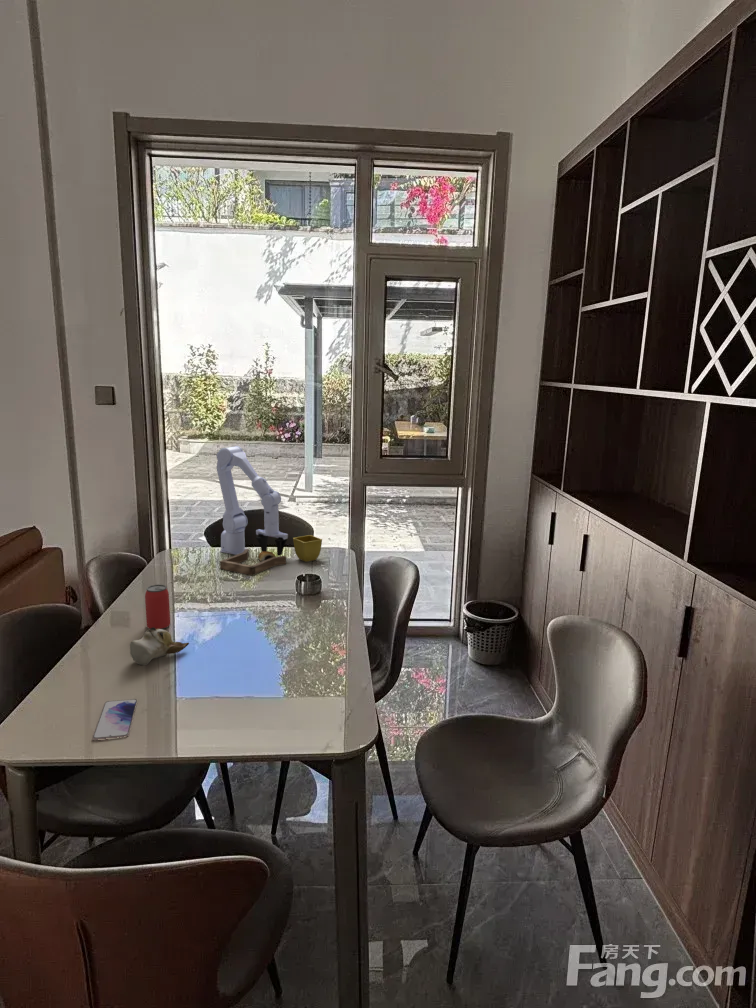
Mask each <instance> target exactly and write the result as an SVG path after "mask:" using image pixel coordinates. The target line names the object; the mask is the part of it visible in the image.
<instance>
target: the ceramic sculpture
mask: <svg viewBox="0 0 756 1008" xmlns="http://www.w3.org/2000/svg"><path fill="white" fill-rule="evenodd" d="M172 639H173V638H172V635H171V634H170V632H169V631H167V630H166V629H156V628H155V627H153V628H150V629H149V628H148V629H147V630H146V631H145V632H144V635H143V636H142V638H140V639H135V640H131V641H130V643H129V649H130V650H129V651H130V652H129V653H130V657H131V658H132V660H133V661H134V662H135V664H137V665H140V666H146V665H149V663H150V662H151V660H154V659H157V658H158V659H159V658H161V657H163V656H166V655H174V654H177V653H180V652H181V651H183V650H185V648H186V647H188V645H190V643H189V642H184V643H183V642H181V641H173V640H172Z"/></svg>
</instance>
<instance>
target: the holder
mask: <svg viewBox="0 0 756 1008" xmlns="http://www.w3.org/2000/svg"><path fill="white" fill-rule="evenodd" d="M249 557H250V549H249V548H245V550H244V551H243V553H240V554H237V555H235V554H234V555H233V556H229V557H227V558H224V559H222V560H220V561H219V569H221V570H225V571H230V572H235V573H240V574H245V575H249V576H254V575H257V574H259V573H262V572H264V571H267V570H268V569H270V568H273V567H275V566H283V565H286V564H287V561H286V560H287V557H286V556H285V555H280V556H276V557H272V558H270V559H267V560H265V561H262V562H260V561H259V562H258V563H255V564H252V565H248V564H245V563H243V562H245V561H247V560H248V558H249Z"/></svg>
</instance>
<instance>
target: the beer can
mask: <svg viewBox="0 0 756 1008" xmlns="http://www.w3.org/2000/svg"><path fill="white" fill-rule="evenodd" d="M144 602H145V605H144V606H145V617H146V619H145V620H146V627H147V629H148V630H149V629H150V628H153V627H155V628H156V629H163V630H165V629H166V628H168V627H170V625H171V608H170V593H169V590H168V588H167V586H166V585H165V584H153V585H149V586H147V587H146V590H145V595H144Z"/></svg>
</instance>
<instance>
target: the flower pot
mask: <svg viewBox="0 0 756 1008" xmlns="http://www.w3.org/2000/svg"><path fill="white" fill-rule="evenodd" d="M292 540H293V547H294V549H293V550H294V552H295V554H296V556H297V558H298V559H299V560H300V561H302V562H305V563H307V562H312V561H316V560H317V559H318V558H319V557H320V556H319V555H320V553H321V552H322V551H321V550H322V544H323V543H322V542H323V538H319V537H317V536H314V535H311V534H309V535H302V536H297V537H292Z"/></svg>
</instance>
